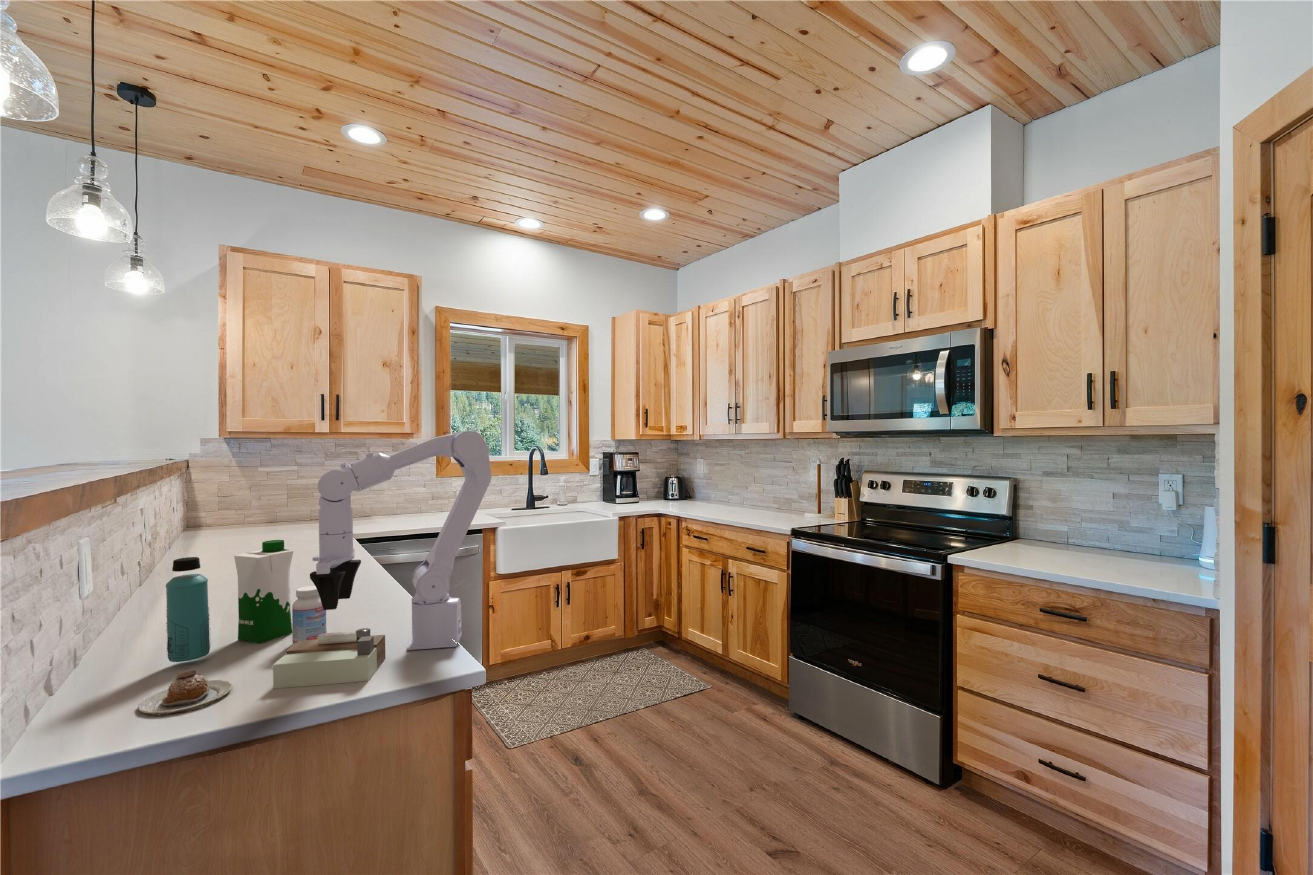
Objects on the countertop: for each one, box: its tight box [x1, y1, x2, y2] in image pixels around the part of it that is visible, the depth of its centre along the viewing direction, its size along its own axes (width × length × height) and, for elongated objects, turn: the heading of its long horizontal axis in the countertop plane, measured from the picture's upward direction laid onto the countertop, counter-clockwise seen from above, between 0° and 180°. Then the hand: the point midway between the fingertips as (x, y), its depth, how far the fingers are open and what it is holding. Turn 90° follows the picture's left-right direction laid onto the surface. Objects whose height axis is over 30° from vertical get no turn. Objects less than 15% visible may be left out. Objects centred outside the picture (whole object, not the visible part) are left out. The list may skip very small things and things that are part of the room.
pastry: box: [137, 669, 233, 716], centre depth 96 cm, size 12×12×5 cm
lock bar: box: [317, 627, 371, 645], centre depth 109 cm, size 9×2×2 cm, turn 100°
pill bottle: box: [291, 585, 328, 646], centre depth 123 cm, size 6×6×11 cm
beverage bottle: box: [165, 556, 212, 663], centre depth 112 cm, size 6×7×20 cm
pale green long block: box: [272, 635, 378, 689], centre depth 104 cm, size 15×5×6 cm, turn 100°
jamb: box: [285, 634, 386, 670], centre depth 109 cm, size 15×6×4 cm, turn 100°
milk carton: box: [233, 539, 294, 645], centre depth 127 cm, size 9×9×20 cm
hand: (337, 603), depth 113 cm, fingers open, 7 cm apart
